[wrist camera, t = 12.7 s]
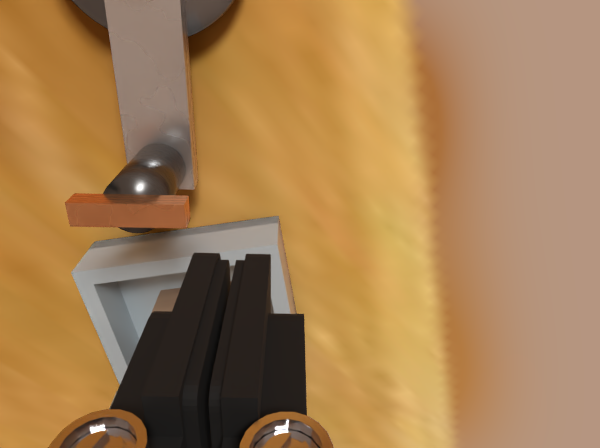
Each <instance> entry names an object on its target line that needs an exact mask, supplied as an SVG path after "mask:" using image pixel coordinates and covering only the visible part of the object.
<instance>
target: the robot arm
mask: <svg viewBox="0 0 600 448" xmlns="http://www.w3.org/2000/svg"><path fill="white" fill-rule="evenodd" d="M48 448H334V447H333V444H332V442H331V439H330V437H329V435H328V433H327V431H326V430H325V429H324V428H323V427H322V426H321V425H320V424H319V423H318V422H317V421H315V420H313V419H312V418H310V417H309V416H307V408H306V370H305V333H304V314H279V313H271V254H246V256H245V260H236V262H235V267H234V272H233V277H232V282H230V263H229V260H221V257H220V254H219V253H193V255H192V258H191V261H190V264H189V266H188V269H187V272H186V274H185V277H184V280H183V283H182V285H181V288H180V291H179V294H178V296H177V299H176V302H175V305H174V307H173V310H172V311H154V312H152V313H151V315H150V316H149V318H148V321H147V323H146V325H145V328H144V330H143V332H142V335H141V337H140V339H139V342H138V344H137V346H136V349H135V351H134V353H133V356H132V358H131V360H130V363H129V365H128V367H127V370H126V372H125V374H124V377H123V379H122V381H121V384H120V386H119V388H118V391H117V393H116V395H115V398H114V400H113V402H112V405H111V407H110V409H105V410H101V411H97V412H92V413H89V414H87V415H85V416H83V417H81V418H79V419H76V420H75V421H74V422H72V423H71V424H70V425H68V426H67V427H65V428H64V429H63V430H62V431H61V432H60V433H59V434H58V436H57V437H56V438H55V439H54V440H53V441H52V443H51V444H50V445H49V447H48Z"/></svg>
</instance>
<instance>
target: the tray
mask: <svg viewBox="0 0 600 448" xmlns="http://www.w3.org/2000/svg"><path fill="white" fill-rule="evenodd" d="M193 253H219V254H220V257H221V260H229V263H230V281H232V277H233V272H234V267H235V262H236V260H245V256H246V254H271V313H279V314H297V313H296V308H295V302H294V297H293V292H292V286H291V281H290V275H289V270H288V264H287V259H286V253H285V248H284V243H283V237H282V232H281V226H280V221H279V216H274V217H267V218H260V219H253V220H245V221H238V222H231V223H224V224H217V225H210V226H203V227H196V228H188V229H181V230H174V231H167V232H160V233H153V234H146V235H138V236H131V237H124V238H117V239H110V240H103V241H96V242H94V243H93V244H92V246H91V247H90V248H89V250H88V251H87V252H86V254H85V255H84V256H83V258H82V259H81V260H80V262H79V263H78V264H77V266H76V267H75V268H74V270H73V271H72V272H71V274H72V276H73V278H74V280H75V283H76V285H77V287H78V290H79V292H80V294H81V297H82V299H83V301H84V304H85V306H86V308H87V310H88V313H89V315H90V317H91V320H92V322H93V324H94V327H95V329H96V331H97V333H98V336H99V338H100V340H101V343H102V345H103V347H104V350H105V352H106V354H107V357H108V359H109V361H110V363H111V366H112V368H113V370H114V373H115V375H116V377H117V380H118V382H119V384H121V381H122V379H123V377H124V374H125V372H126V370H127V367H128V365H129V363H130V360H131V358H132V356H133V353H134V351H135V349H136V346H137V344H138V342H139V339H140V337H141V335H142V332H143V330H144V328H145V325H146V323H147V321H148V318H149V316H150V315H151V312H152V310H153V308H154V305H155V303H156V300H157V298H158V296H159V293H160V291H161V290H166V289H174V288H181V285H182V283H183V280H184V277H185V274H186V272H187V269H188V266H189V264H190V261H191V258H192V255H193ZM306 397H307V396H306Z"/></svg>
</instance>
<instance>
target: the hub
mask: <svg viewBox="0 0 600 448" xmlns="http://www.w3.org/2000/svg"><path fill="white" fill-rule="evenodd" d="M72 1H73V2H74V3H75V4H76V5H77V6H78V7H79V8H80V9H81V10H82V11H83V12H84V13H86V14H87V15H88V16H89V17H91V18H92V19H93V20H94V21H96V22H97V23H99V24H101V25H102V26H104V27H106V28H107V29H108V24H107V17H106V10H105V3H104V0H72ZM234 1H235V0H185V4H186V18H187V32H188V36H191V35H193V34H196V33H198V32H200V31H201V30H203V29H205V28H207V27H208V26H210V25H212V24H213V23H214V22H215V21H217V20H218V19H219V18H220V17H221V16H222V15H223V14H224V13H225V12H226V11H227V10H228V9H229V8H230V7H231V5H232V4H233V2H234Z"/></svg>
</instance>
